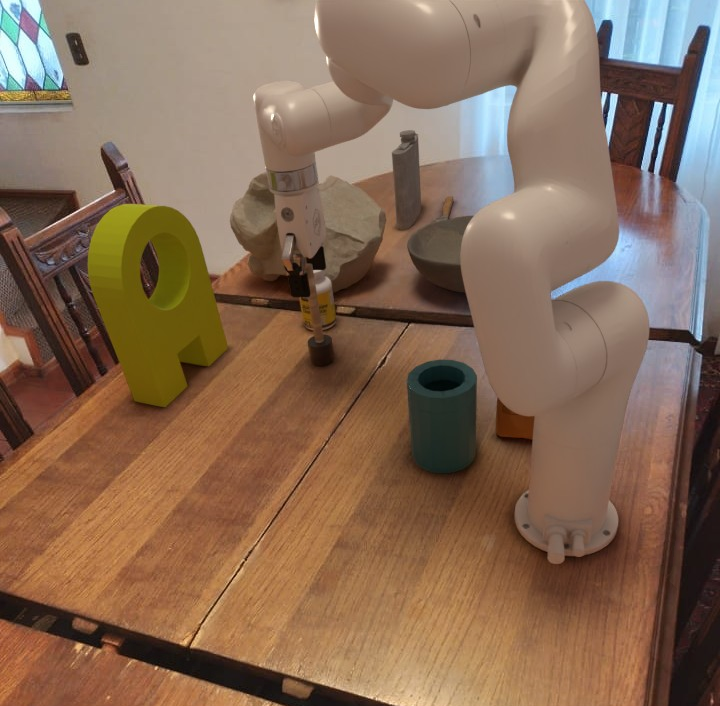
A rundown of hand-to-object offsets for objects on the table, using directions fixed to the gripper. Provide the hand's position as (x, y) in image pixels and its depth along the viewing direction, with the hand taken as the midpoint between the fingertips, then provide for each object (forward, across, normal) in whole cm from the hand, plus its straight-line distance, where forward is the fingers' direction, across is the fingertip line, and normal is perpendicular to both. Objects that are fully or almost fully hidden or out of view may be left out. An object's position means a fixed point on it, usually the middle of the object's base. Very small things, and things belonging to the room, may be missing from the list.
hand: (309, 282), depth 113 cm
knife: (+16, +62, -13) cm, 65 cm away
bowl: (+15, +31, -24) cm, 42 cm away
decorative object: (+15, -6, +25) cm, 30 cm away
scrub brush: (+15, 0, 0) cm, 15 cm away
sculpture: (+16, +35, +10) cm, 39 cm away
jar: (+14, -24, -25) cm, 38 cm away
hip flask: (+16, +67, -5) cm, 69 cm away
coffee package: (+15, -15, -37) cm, 43 cm away
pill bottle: (+15, +13, +4) cm, 20 cm away
